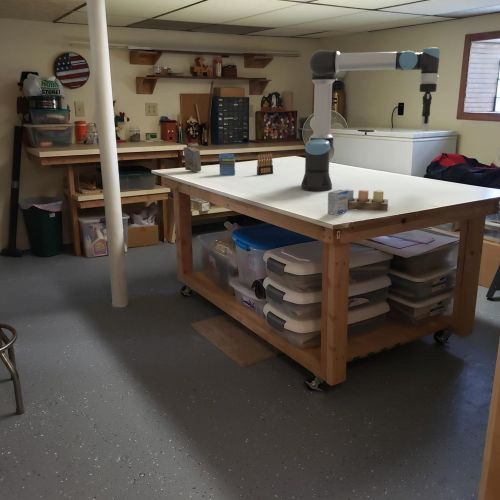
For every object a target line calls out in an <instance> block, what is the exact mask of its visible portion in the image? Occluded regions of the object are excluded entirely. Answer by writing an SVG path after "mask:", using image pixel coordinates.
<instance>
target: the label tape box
mask: <svg viewBox="0 0 500 500" xmlns="http://www.w3.org/2000/svg"><path fill="white" fill-rule="evenodd" d="M218 158H219V159H218V160H219V176H235V175H236V159H235V154H233V153H219V157H218Z"/></svg>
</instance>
